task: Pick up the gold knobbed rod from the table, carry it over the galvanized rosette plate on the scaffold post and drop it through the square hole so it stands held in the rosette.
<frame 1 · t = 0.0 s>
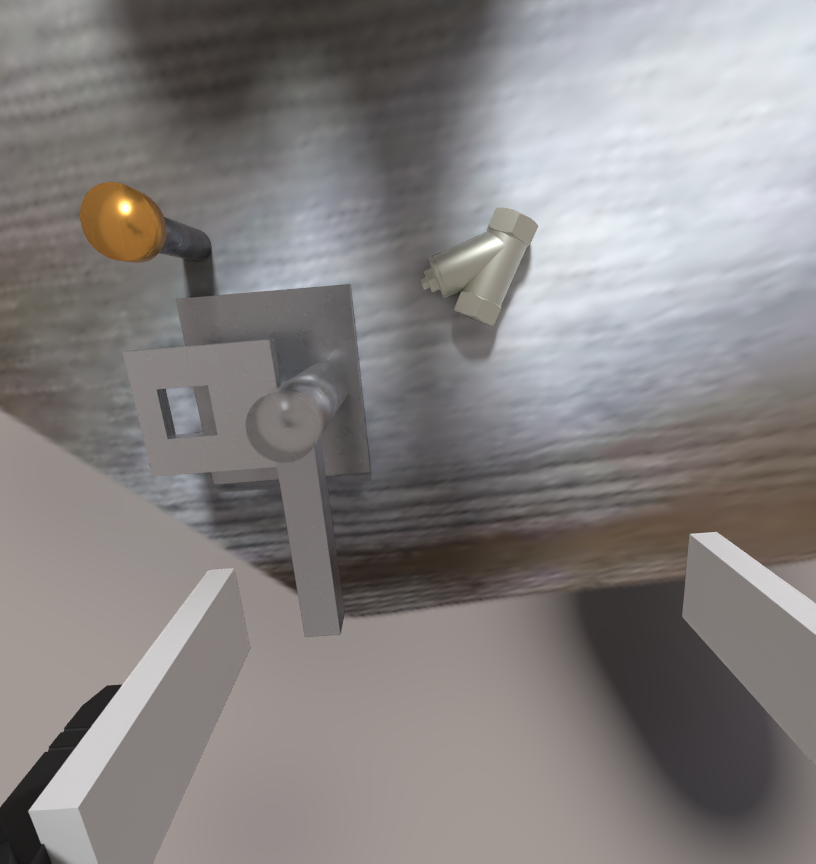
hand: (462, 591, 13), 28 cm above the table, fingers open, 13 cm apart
gold knobbed rod: (195, 245, 37), on the table
rosette post: (280, 388, 40), on the table
pipe fitting: (471, 263, 38), on the table
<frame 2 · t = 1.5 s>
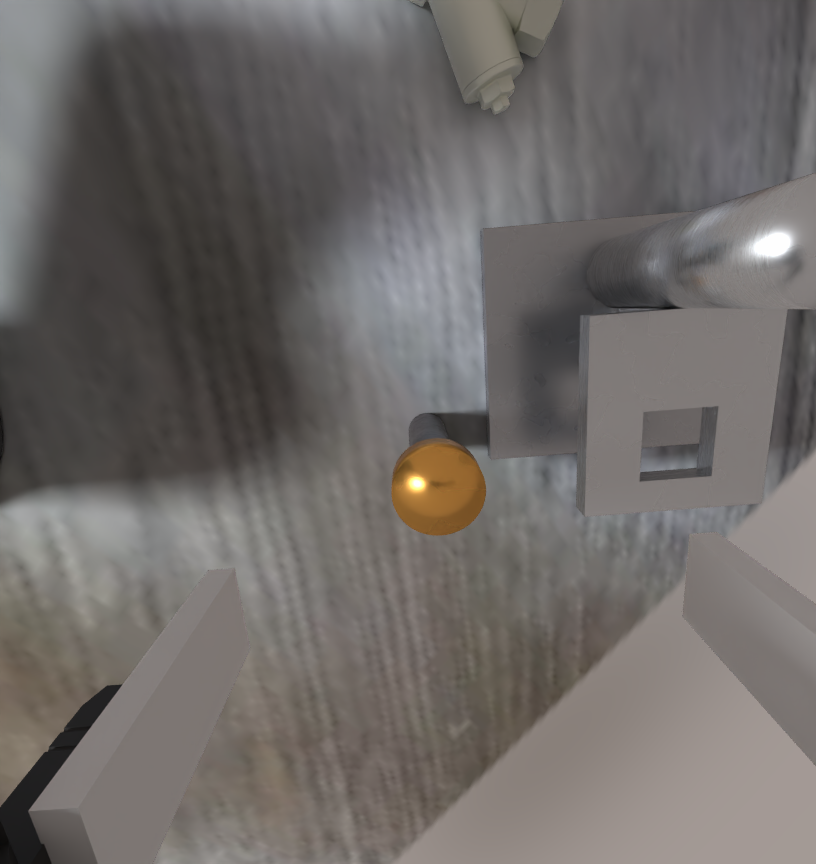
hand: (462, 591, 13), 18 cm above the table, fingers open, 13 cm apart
gold knobbed rod: (426, 430, 31), on the table
rosette post: (610, 340, 29), on the table
pipe fitting: (464, 39, 25), on the table
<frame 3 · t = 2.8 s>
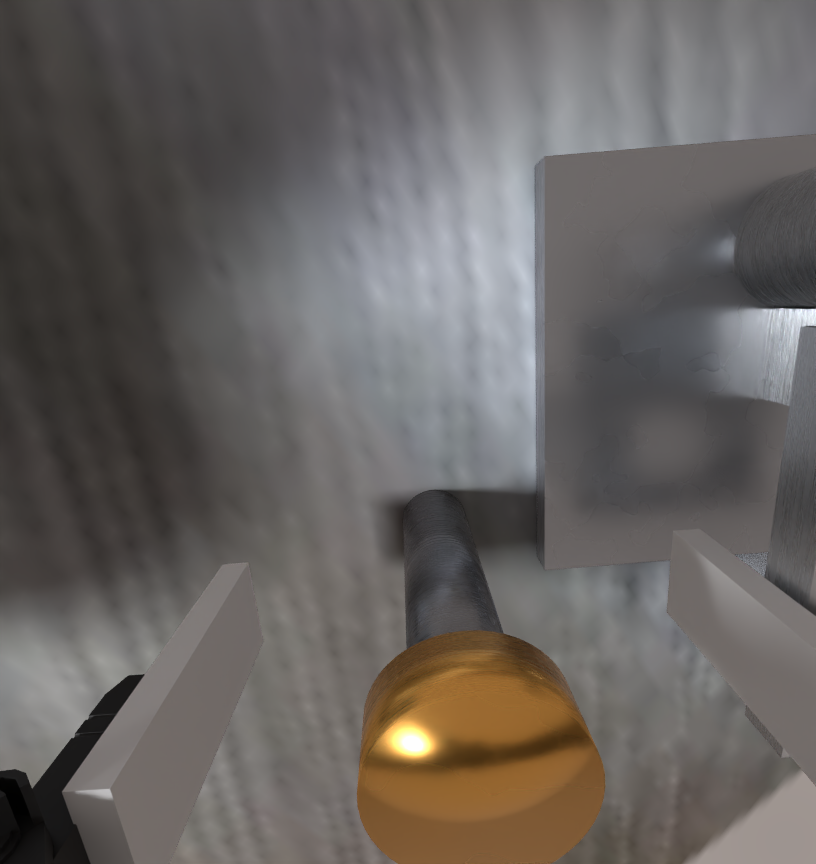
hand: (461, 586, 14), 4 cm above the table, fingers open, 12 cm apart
gold knobbed rod: (434, 518, 18), on the table
rosette post: (757, 364, 17), on the table
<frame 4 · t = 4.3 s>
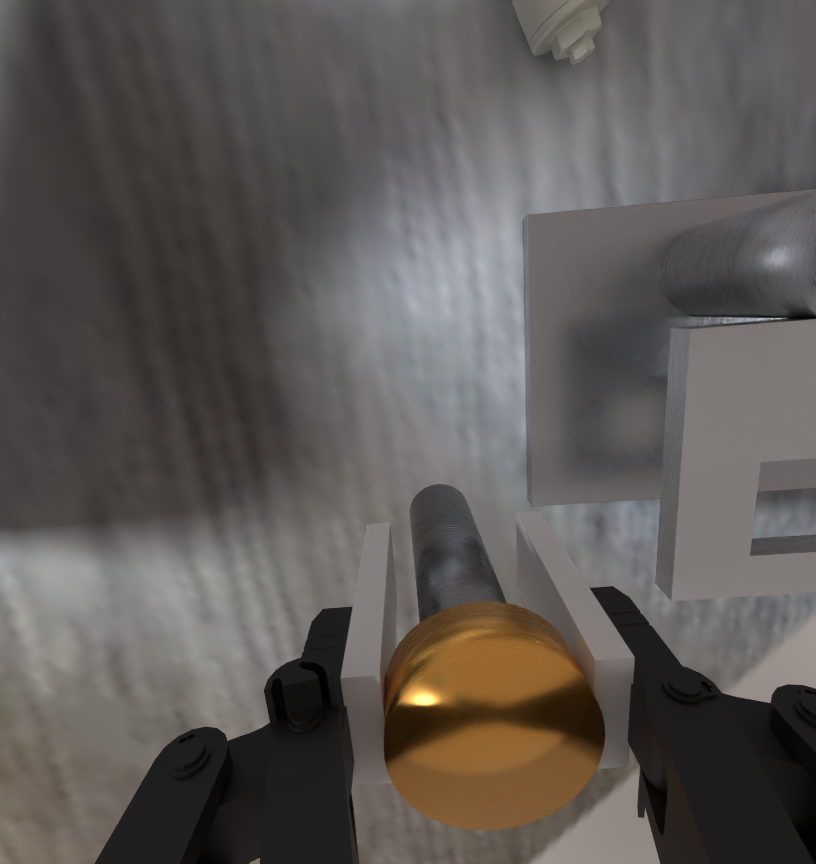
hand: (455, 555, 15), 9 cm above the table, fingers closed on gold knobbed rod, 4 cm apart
gold knobbed rod: (439, 511, 19), point 6 cm above the table, touching gripper
rosette post: (687, 357, 23), on the table
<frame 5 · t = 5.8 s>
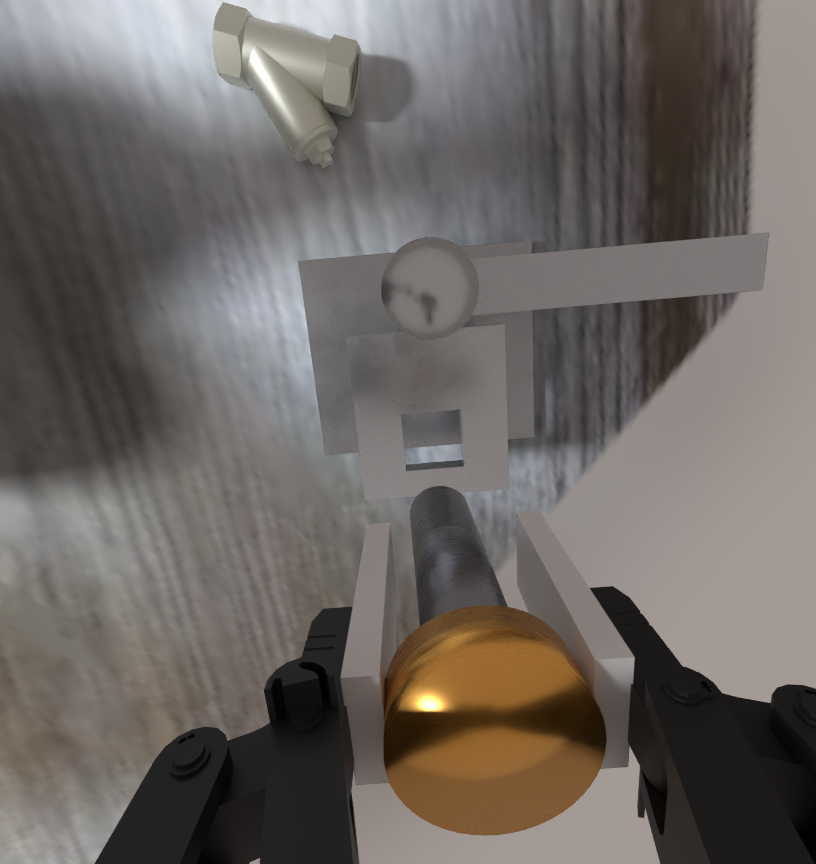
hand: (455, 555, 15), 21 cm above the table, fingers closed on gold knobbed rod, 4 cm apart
gold knobbed rod: (439, 513, 19), point 17 cm above the table, touching gripper
rosette post: (421, 352, 34), on the table
pipe fitting: (293, 108, 30), on the table
when the fingers open (9 cm above the table, at t = 7.7 s): gold knobbed rod drops 5 cm, resting on rosette post.
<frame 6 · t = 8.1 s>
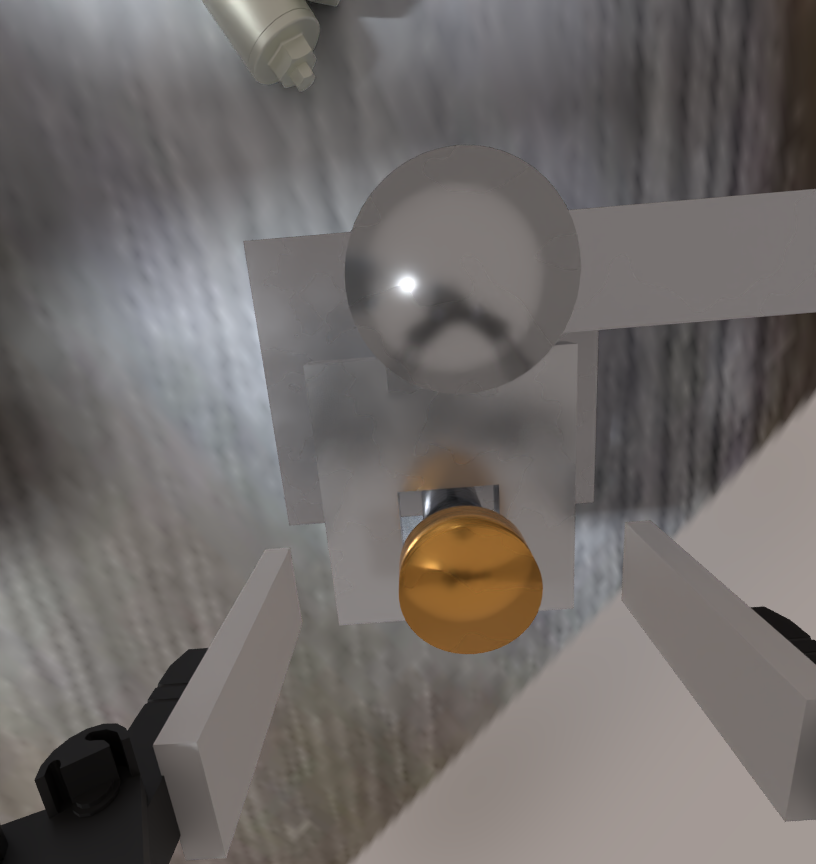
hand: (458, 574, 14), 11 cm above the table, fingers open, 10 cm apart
gold knobbed rod: (442, 470, 24), point 1 cm above the table, touching rosette post
rosette post: (430, 378, 23), on the table
pipe fitting: (249, 3, 20), on the table
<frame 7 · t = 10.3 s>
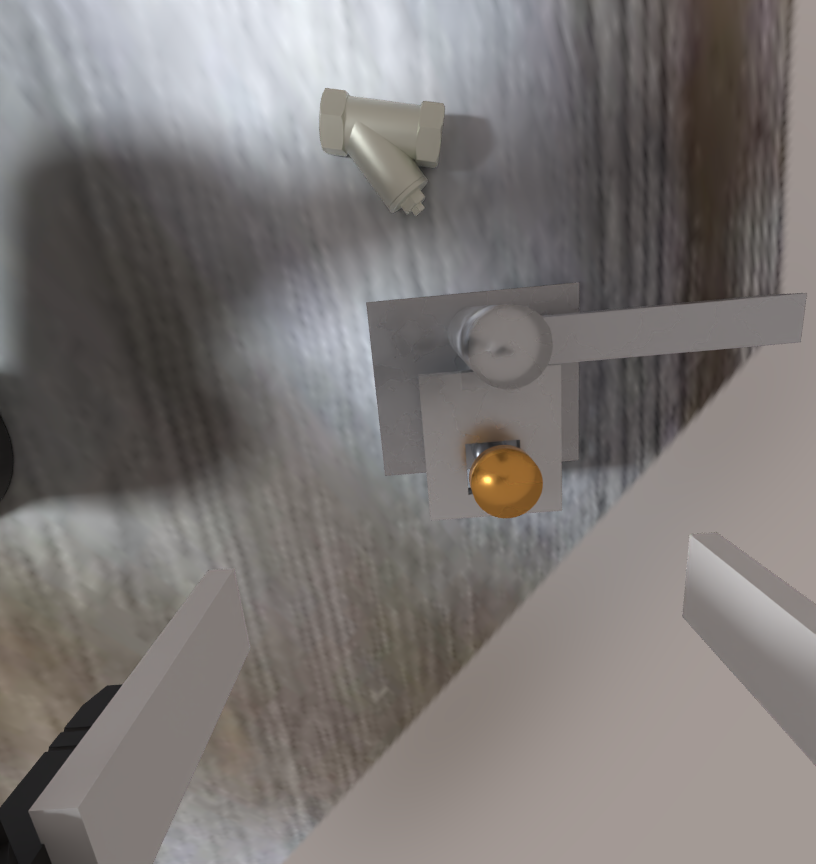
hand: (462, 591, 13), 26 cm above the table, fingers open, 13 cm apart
gold knobbed rod: (482, 440, 38), point 1 cm above the table, touching rosette post
rosette post: (475, 382, 37), on the table
pipe fitting: (382, 166, 34), on the table
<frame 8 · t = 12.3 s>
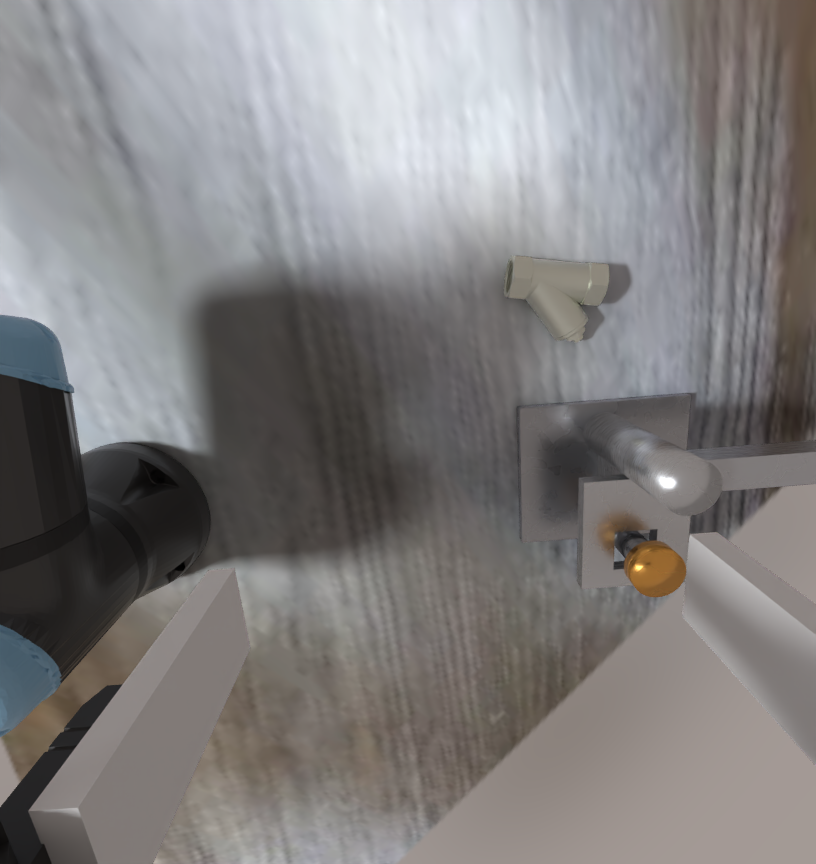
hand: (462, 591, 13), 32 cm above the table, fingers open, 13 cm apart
gold knobbed rod: (604, 514, 46), point 1 cm above the table, touching rosette post
rosette post: (598, 468, 46), on the table
pipe fitting: (544, 300, 42), on the table
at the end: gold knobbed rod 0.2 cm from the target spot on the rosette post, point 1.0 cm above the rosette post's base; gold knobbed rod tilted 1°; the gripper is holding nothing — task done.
